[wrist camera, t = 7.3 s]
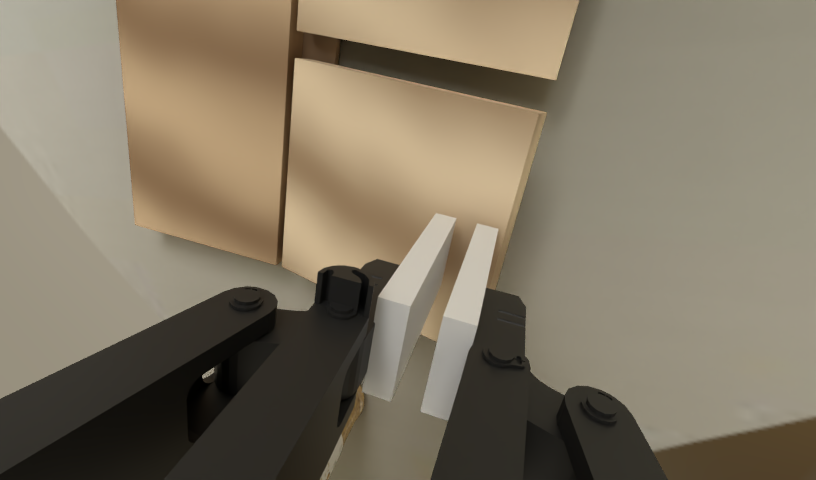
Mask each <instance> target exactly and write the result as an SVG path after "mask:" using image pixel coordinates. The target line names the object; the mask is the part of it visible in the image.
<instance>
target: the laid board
mask: <svg viewBox="0 0 816 480" xmlns="http://www.w3.org/2000/svg"><path fill="white" fill-rule="evenodd" d="M298 1H299V0H116V6H117V18H118V30H119V41H120V53H121V65H122V77H123V88H124V100H125V112H126V124H127V135H128V147H129V159H130V170H131V182H132V194H133V206H134V217H135V225H137V226H141V227H144V228H148V229H151V230H155V231H158V232H162V233H165V234H169V235H172V236H176V237H179V238H183V239H186V240H190V241H193V242H197V243H200V244H204V245H207V246H211V247H214V248H218V249H221V250H225V251H228V252H232V253H235V254H239V255H242V256H246V257H249V258H253V259H256V260H260V261H263V262H267V263H270V264H274V265H277V264H278V263H279V262H281V261H282V254H283V238H284V223H285V207H286V191H287V175H288V159H289V143H290V128H291V112H292V96H293V80H294V64H295V58H301V59H311V60H317V61H321V62H326V63H330V64H335V65H338V63H339V53H340V43H341V39H338V38H333V37H328V36H323V35H318V34H312V33H307V32H302V31H297V17H298Z"/></svg>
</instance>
